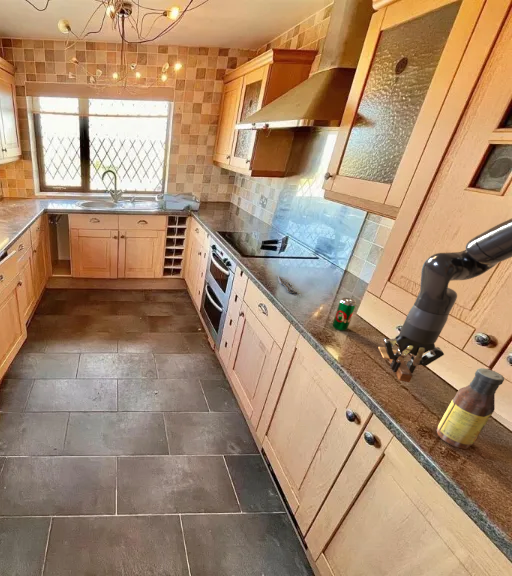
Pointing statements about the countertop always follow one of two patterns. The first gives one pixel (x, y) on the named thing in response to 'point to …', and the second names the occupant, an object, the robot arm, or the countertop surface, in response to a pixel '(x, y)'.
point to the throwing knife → (286, 285)
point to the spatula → (403, 370)
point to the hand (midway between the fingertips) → (400, 371)
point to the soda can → (344, 314)
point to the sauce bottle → (470, 409)
